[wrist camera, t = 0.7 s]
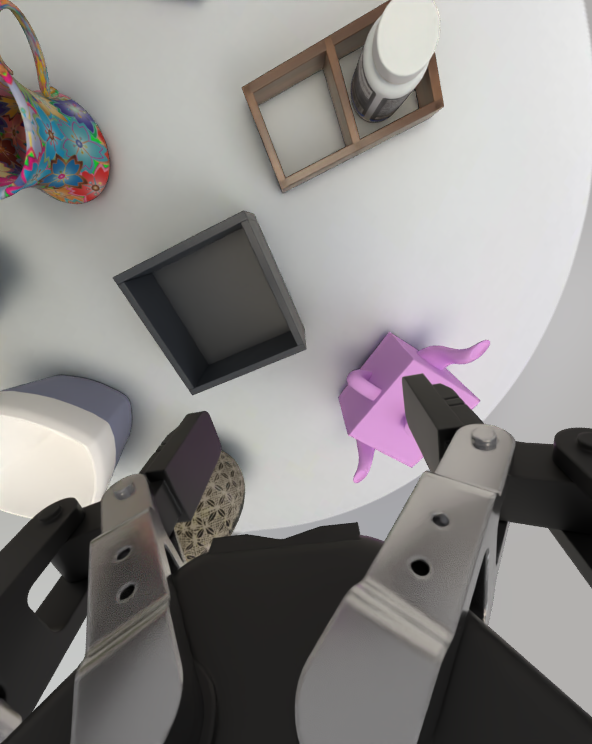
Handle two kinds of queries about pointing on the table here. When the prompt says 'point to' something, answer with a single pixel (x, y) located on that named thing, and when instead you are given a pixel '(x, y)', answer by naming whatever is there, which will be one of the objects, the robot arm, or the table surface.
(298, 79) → the rack
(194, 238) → the dark grey open box
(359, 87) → the pill bottle
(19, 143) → the mug
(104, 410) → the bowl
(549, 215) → the table surface
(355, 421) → the teapot
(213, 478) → the decorative egg
